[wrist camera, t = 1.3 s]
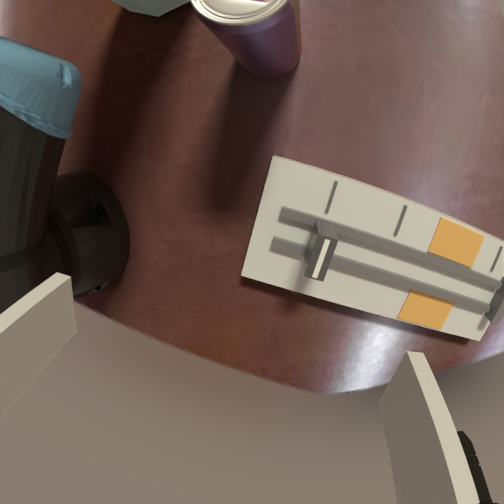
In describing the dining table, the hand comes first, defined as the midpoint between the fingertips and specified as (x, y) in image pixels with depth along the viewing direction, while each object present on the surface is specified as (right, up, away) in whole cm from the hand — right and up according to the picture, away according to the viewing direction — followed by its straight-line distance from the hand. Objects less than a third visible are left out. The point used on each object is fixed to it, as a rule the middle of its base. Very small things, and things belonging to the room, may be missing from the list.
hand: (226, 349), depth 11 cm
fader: (+7, +5, +18) cm, 20 cm away
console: (+16, +3, +19) cm, 25 cm away
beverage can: (+3, +23, +15) cm, 27 cm away
